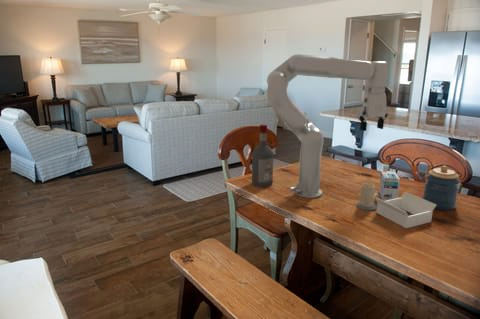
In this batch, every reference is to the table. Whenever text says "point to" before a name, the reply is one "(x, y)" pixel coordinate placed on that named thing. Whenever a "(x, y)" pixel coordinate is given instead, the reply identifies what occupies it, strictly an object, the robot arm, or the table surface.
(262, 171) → the liquor
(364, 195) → the candle
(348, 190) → the table surface
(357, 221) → the table surface
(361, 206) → the grey ellipsoid
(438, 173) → the canister
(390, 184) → the light bulb box
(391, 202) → the white open box
